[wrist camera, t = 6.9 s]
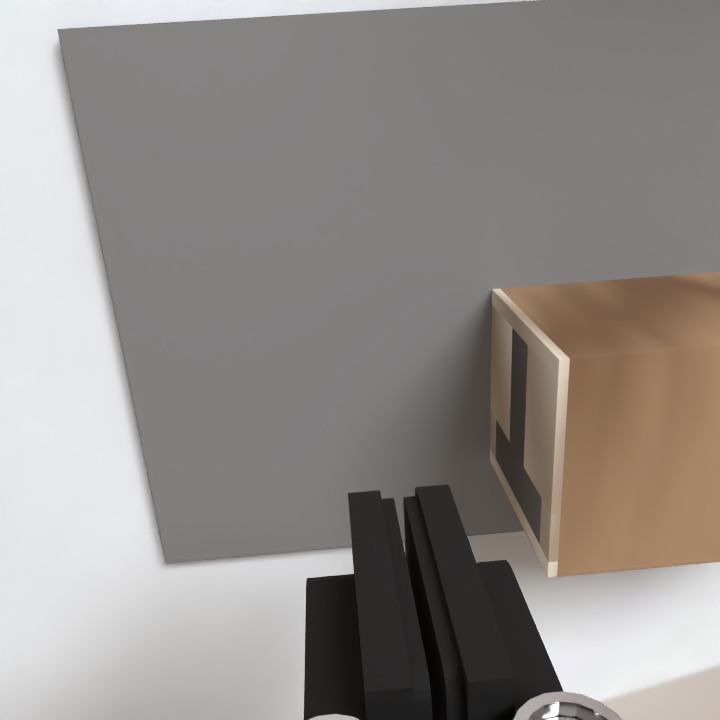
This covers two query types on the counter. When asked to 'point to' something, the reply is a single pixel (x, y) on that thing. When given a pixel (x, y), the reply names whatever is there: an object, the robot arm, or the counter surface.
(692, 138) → the mat
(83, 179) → the counter surface
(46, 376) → the counter surface
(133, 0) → the counter surface
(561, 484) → the block
